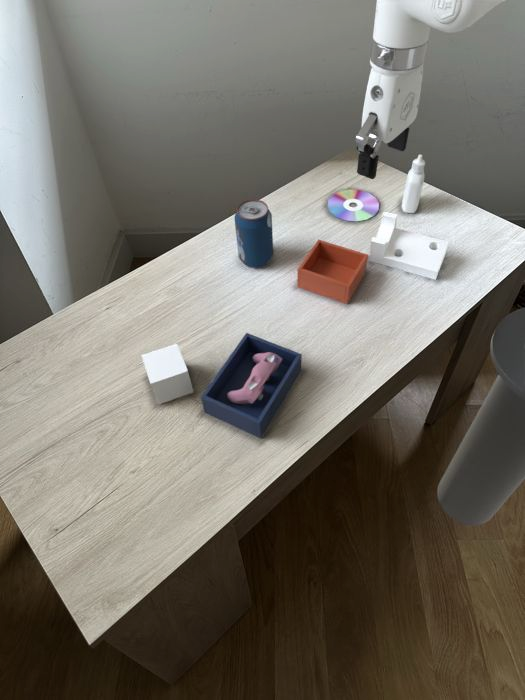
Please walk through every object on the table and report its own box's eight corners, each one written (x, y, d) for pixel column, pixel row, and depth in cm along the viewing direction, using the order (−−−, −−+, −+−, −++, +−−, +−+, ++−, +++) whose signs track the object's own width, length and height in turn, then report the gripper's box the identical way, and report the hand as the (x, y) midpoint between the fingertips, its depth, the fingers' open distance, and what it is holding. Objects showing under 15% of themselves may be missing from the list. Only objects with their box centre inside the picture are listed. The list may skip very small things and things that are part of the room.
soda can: (279, 252, 105) (278, 202, 95) (263, 274, 101) (260, 225, 92) (249, 243, 107) (245, 193, 97) (232, 264, 103) (226, 214, 94)
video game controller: (245, 416, 83) (261, 402, 77) (222, 399, 82) (236, 384, 76) (274, 371, 88) (291, 355, 82) (253, 355, 87) (268, 338, 82)
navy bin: (301, 370, 86) (301, 354, 83) (261, 438, 79) (259, 423, 75) (248, 349, 90) (246, 332, 86) (204, 412, 82) (200, 397, 79)
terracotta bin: (365, 272, 100) (368, 254, 96) (347, 304, 95) (349, 286, 92) (317, 257, 103) (318, 239, 100) (297, 287, 98) (297, 269, 95)
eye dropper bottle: (425, 203, 112) (437, 153, 103) (410, 216, 110) (422, 165, 100) (408, 196, 114) (418, 145, 105) (393, 208, 112) (403, 157, 102)
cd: (385, 196, 114) (385, 195, 114) (370, 226, 108) (370, 226, 108) (337, 185, 117) (337, 185, 117) (319, 214, 111) (320, 214, 111)
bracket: (369, 263, 103) (371, 241, 96) (381, 235, 105) (384, 211, 98) (435, 282, 99) (441, 259, 92) (446, 252, 101) (453, 228, 94)
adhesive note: (183, 365, 88) (177, 343, 84) (193, 392, 85) (188, 370, 80) (148, 376, 87) (140, 355, 82) (158, 404, 84) (150, 383, 79)
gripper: (390, 83, 67) (374, 195, 81) (450, 35, 75) (426, 145, 89) (341, 69, 70) (333, 179, 84) (404, 25, 78) (387, 132, 92)
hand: (381, 161), depth 86 cm, fingers open, 9 cm apart
